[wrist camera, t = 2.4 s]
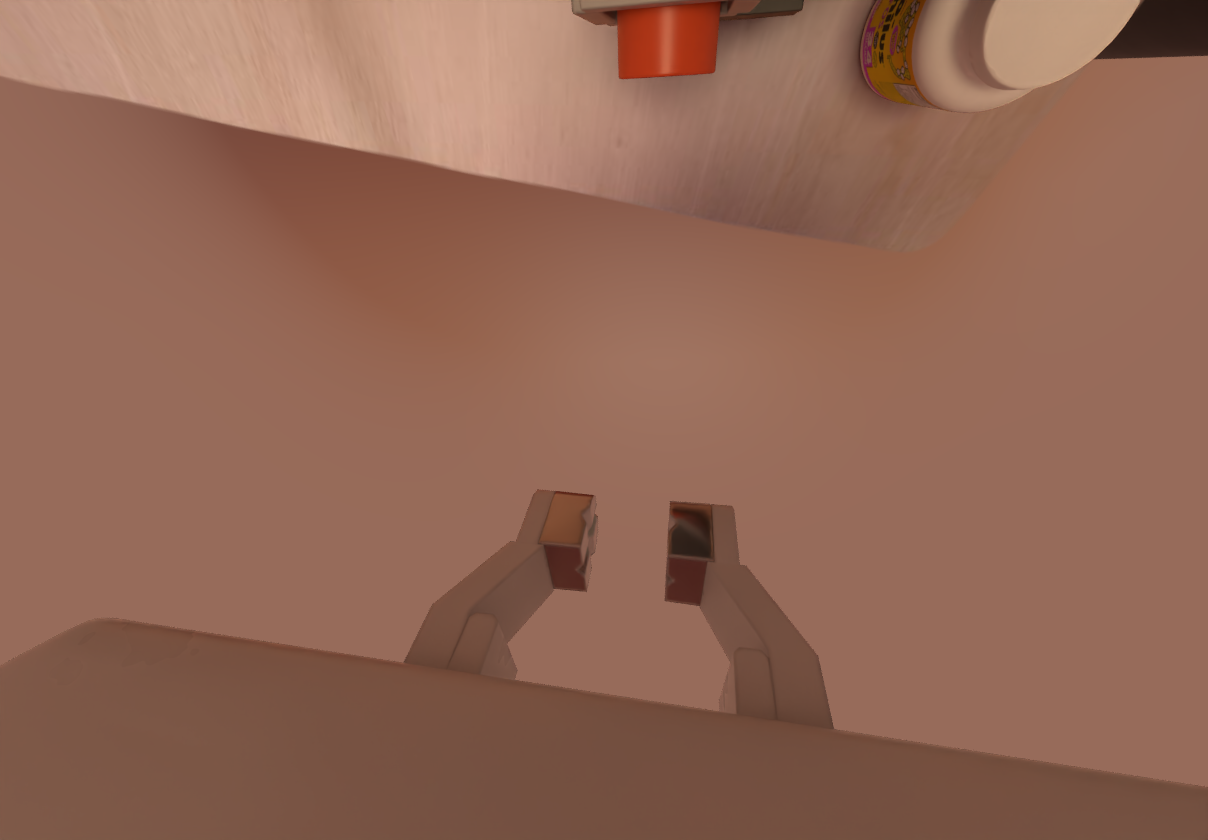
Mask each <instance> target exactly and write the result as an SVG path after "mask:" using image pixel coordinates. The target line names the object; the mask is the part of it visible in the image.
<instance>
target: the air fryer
mask: <svg viewBox="0 0 1208 840" xmlns="http://www.w3.org/2000/svg"><path fill="white" fill-rule="evenodd" d="M717 1H721V6H720V18H719V21H726V20H738V19H750V18H762V17H774V16H786V15H794V14H796V13H797V12H799V11H801V10H802V8H803V2H804V0H571V2H572V12H573V14H575V15H577V16H579V17H581V18H583V19H585V20H587V21H589V22H591V23H593V24H595V25H603V24H607V25H609V26H618V25H617V10H627V9H638V8H650V7H661V6H672V5H683V4H694V3H706V2H717Z"/></svg>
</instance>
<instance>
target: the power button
mask: <svg viewBox="0 0 1208 840" xmlns="http://www.w3.org/2000/svg"><path fill="white" fill-rule="evenodd" d="M720 6H721V1H717V2H706V3H694V4H683V5H672V6H661V7H650V8H638V9H627V10H617V25H618V68H619V78H620V79H634V78H650V77H665V76H681V75H696V74H710V73H714V72H715V66H716V54H717V42H718V30H719V18H720Z"/></svg>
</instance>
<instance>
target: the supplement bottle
mask: <svg viewBox="0 0 1208 840" xmlns="http://www.w3.org/2000/svg"><path fill="white" fill-rule="evenodd" d="M1139 2H1140V0H877V1H876V3H875V4H874V6H873V8H872V10H871V12H870V15H869V17H868V19H867V22H866V25H865V28H864V32H863V36H862V41H861V50H860V60H861V67H862V72H863V75H864V77H865V80H866V81H867V83H868V85H869V86H870V87H871V89H872V90H873V91H874V92H875V93H877V94H878V95H880V96H881V97H883V98H886V99H888V100H891V101H894V102H899V103H904V104H910V105H916V106H922V107H929V108H935V109H940V110H946V111H951V112H960V113H974V112H982V111H987V110H991V109H995V108H998V107H1001V106H1003V105H1006V104H1008V103H1010V102H1013V101H1015V100H1017V99H1019V98H1021V97H1022V96H1024V95H1026V94H1028V93H1029V92H1031V91H1032V90H1034V89H1035V88H1039V87H1043V86H1046V85H1049V84H1052V83H1054V82H1057V81H1059V80H1061V79H1063V78H1065V77H1067V76H1069V75H1071V74H1072V73H1074V72H1076V71H1077V70H1079V69H1080V68H1082V67H1083V66H1084V65H1086V64H1087V63H1088V62H1090V61H1091V60H1092V59H1094V58H1095V57H1096V56H1097V55H1098V54H1099V53H1100V52H1101V51H1102V50H1103V49H1104V48H1105V47H1106V46H1108V45H1109V44H1110V43H1111V42H1112V40H1113V39H1114V38H1115V37H1116V36H1117V35H1118V33H1119V32H1120V31H1121V30H1122V28H1123V27H1124V26H1125V24H1126V23H1127V22H1128V20H1129V19H1130V17H1131V16H1132V14H1133V13H1134V11H1135V9H1136V8H1137V6H1138V4H1139Z"/></svg>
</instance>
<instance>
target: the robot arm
mask: <svg viewBox="0 0 1208 840" xmlns="http://www.w3.org/2000/svg"><path fill="white" fill-rule="evenodd" d="M595 509H596V497H595V496H594V495H587V494H578V493H569V492H560V491H548V490H539V489H538V490H537V491H536V492H535V493H534V495H533V497H532V500H531V503H530V506H529V508H528V511H527V513H526V516H525V518H524V521H523V524H522V527H521V529H520V532H519V534H518V537H517V540H516V542H514V541H510V542H509V543H507V544H506V545H505V546H504V547H502V548H501V549H500V550H499V551H498V552H497V553H495V554H494V555H493V556H491V557H490V558H489V559H488V560H487V561H485V562H484V563H483V564H482V565H480V566H479V567H478V568H477V569H475V570H474V571H473V572H472V573H470V574H469V575H468V576H467V577H465V578H464V579H463V580H462V581H461V582H459V583H458V584H457V585H456V586H454V587H453V588H452V589H451V590H450V591H448V592H447V593H446V594H445V595H443V596H442V597H441V598H440V599H439V600H437V601H436V602H435V603H433V604H432V606H431V608H430V610H429V612H428V614H427V616H426V618H425V620H424V622H423V624H422V626H421V628H420V630H419V632H418V634H417V636H416V639H415V640H414V642H413V644H412V646H411V648H410V651H409V653H408V655H407V657H406V659H405V661H404V663H402V662H395V661H389V660H383V659H376V658H370V657H363V656H356V655H350V654H344V653H337V652H331V651H324V650H318V649H311V648H304V647H298V646H292V645H285V644H279V643H272V642H266V641H259V640H253V639H246V638H240V637H233V636H227V635H221V634H214V633H207V632H201V631H194V630H187V629H181V628H175V627H168V626H162V625H155V624H149V623H142V622H136V621H130V620H124V619H118V618H97V619H92V620H89V621H86V622H84V623H82V624H80V625H77V626H75V627H73V628H71V629H69V630H66V631H64V632H62V633H60V634H58V635H56V636H55V637H53V638H51V639H49V640H47V641H45V642H44V643H41V644H39V645H37V646H36V647H34V648H32V649H30V650H28V651H26V652H24V653H22V654H20V655H18V656H17V657H15V658H13V659H11V660H9V661H8V662H6V663H4V664H3V665H1V666H0V840H1208V787H1204V786H1198V785H1191V784H1184V783H1178V782H1171V781H1165V780H1159V779H1153V778H1146V777H1140V776H1133V775H1126V774H1120V773H1114V772H1107V771H1101V770H1094V769H1088V768H1081V767H1075V766H1068V765H1062V764H1056V763H1049V762H1043V761H1036V760H1030V759H1023V758H1017V757H1010V756H1004V755H997V754H991V753H985V752H978V751H971V750H965V749H959V748H952V747H946V746H939V745H933V744H926V743H920V742H913V741H907V740H901V739H894V738H888V737H881V736H875V735H868V734H862V733H855V732H849V731H842V730H836V729H834V727H833V723H832V718H831V713H830V709H829V704H828V699H827V695H826V690H825V686H824V681H823V676H822V672H821V668H820V663H819V658H818V655H817V654H816V653H815V652H814V650H813V649H812V648H811V647H810V645H809V644H808V643H807V641H806V640H805V639H804V638H803V636H802V635H801V634H800V633H799V631H798V630H797V629H796V628H795V626H794V625H793V624H792V623H791V621H790V620H789V619H788V618H787V616H786V615H785V614H784V613H783V611H782V610H781V609H780V608H779V606H778V605H777V604H776V602H775V601H774V600H773V599H772V597H771V596H770V595H769V594H768V593H767V591H766V590H765V589H764V587H763V586H762V585H761V584H760V582H759V581H758V580H757V579H756V578H755V576H754V575H753V574H752V572H751V571H750V570H749V569H748V567H747V566H745V565H740V562H739V553H738V544H737V534H736V523H735V513H734V509H733V507H732V506H727V505H714V504H711V505H710V504H705V503H691V502H676V501H670V510H669V525H668V542H667V564H666V583H665V601H669V602H676V603H682V604H689V605H696V606H700V609H701V611H702V612H703V614H704V616H705V618H706V620H707V621H708V623H709V625H710V627H711V629H712V630H713V632H714V634H715V636H716V637H717V639H718V641H719V643H720V645H721V646H722V648H723V650H724V652H725V654H726V655H727V657H728V659H729V661H730V666H729V669H728V672H727V676H726V679H725V683H724V686H723V689H722V693H721V696H720V699H719V709H720V711H713V710H707V709H700V708H694V707H687V706H681V705H674V704H668V703H661V702H654V701H648V700H642V699H635V698H629V697H622V696H616V695H609V694H603V693H596V692H590V691H583V690H577V689H571V688H563V687H558V686H551V685H545V684H538V683H532V682H525V681H519V680H515V677H516V674H517V668H516V665H515V663H514V660H513V658H512V655H511V653H510V650H509V648H508V645H507V643H508V642H509V641H510V640H511V639H512V637H513V636H514V635H515V634H516V633H517V631H519V629H520V628H521V627H522V626H523V625H524V624H525V623H526V622H527V620H528V619H529V618H530V617H531V616H532V614H534V612H535V611H536V610H537V609H538V608H539V607H540V606H541V605H542V603H543V602H544V601H545V600H546V599H547V598H548V597H549V596H550V594H551V593H552V592H553V591H554V590H553V589H564V590H575V591H586V592H587V588H588V583H589V579H590V574H591V569H592V567H591V566H592V565H591V555H592V554H594V553H595V549H596V544H597V534H598V516H597V515H596V514H595Z"/></svg>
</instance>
